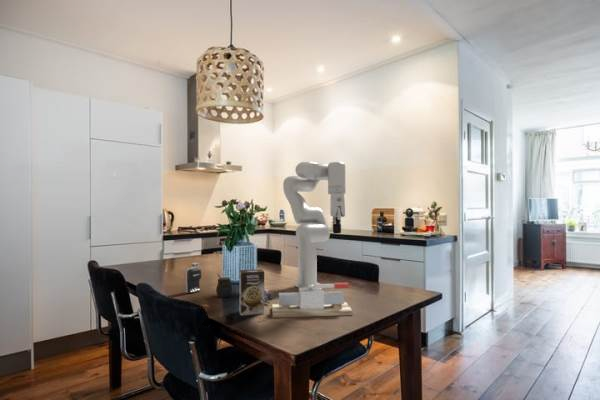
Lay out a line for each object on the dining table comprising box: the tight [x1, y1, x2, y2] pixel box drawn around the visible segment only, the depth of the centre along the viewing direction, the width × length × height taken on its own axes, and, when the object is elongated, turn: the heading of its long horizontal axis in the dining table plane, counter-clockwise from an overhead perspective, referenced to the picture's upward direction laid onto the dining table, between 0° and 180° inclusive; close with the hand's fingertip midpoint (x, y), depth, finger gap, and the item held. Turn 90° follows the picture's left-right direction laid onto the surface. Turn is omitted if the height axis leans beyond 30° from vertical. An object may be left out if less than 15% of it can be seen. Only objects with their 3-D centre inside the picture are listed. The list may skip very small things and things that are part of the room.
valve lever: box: [308, 282, 350, 290], centre depth 136 cm, size 16×3×2 cm, turn 93°
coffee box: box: [238, 268, 265, 316], centre depth 135 cm, size 9×6×16 cm
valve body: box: [278, 287, 345, 311], centre depth 136 cm, size 7×25×7 cm, turn 95°
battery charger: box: [185, 267, 202, 294], centre depth 166 cm, size 7×4×11 cm, turn 145°
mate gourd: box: [215, 273, 233, 298], centre depth 160 cm, size 7×8×10 cm
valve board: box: [271, 301, 354, 319], centre depth 136 cm, size 12×30×3 cm, turn 95°
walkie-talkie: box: [264, 287, 275, 304], centre depth 154 cm, size 9×4×20 cm
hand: (337, 233), depth 151 cm, fingers closed
